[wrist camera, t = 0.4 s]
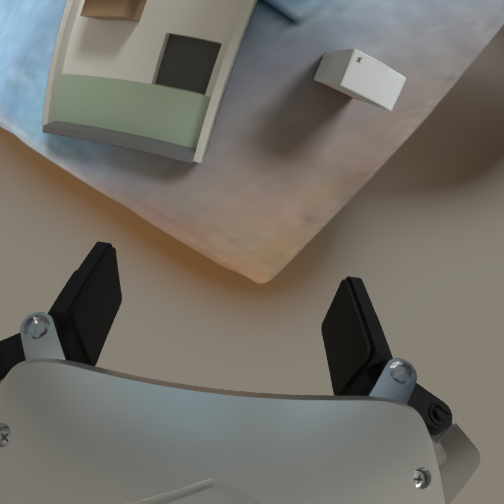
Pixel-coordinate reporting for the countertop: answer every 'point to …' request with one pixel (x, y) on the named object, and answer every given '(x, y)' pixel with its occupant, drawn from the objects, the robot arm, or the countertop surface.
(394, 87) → the skincare box
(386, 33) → the countertop surface
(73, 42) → the box
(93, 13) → the block
